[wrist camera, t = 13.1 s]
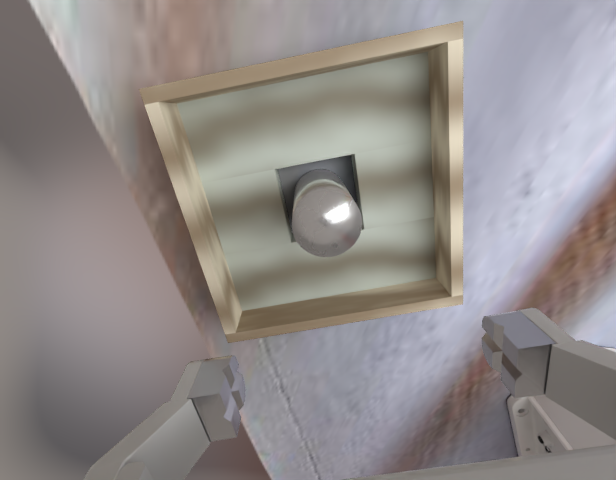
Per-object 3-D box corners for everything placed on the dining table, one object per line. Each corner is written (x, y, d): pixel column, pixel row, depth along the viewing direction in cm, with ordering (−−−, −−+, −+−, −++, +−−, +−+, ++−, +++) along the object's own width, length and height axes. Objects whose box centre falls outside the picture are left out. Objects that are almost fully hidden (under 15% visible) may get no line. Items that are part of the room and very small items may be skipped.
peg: (348, 214, 31) (366, 250, 23) (299, 223, 32) (299, 262, 23) (341, 164, 29) (357, 184, 21) (289, 174, 30) (285, 197, 21)
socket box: (436, 273, 34) (462, 304, 28) (239, 306, 35) (228, 343, 29) (428, 41, 26) (463, 20, 20) (172, 94, 27) (138, 89, 21)
